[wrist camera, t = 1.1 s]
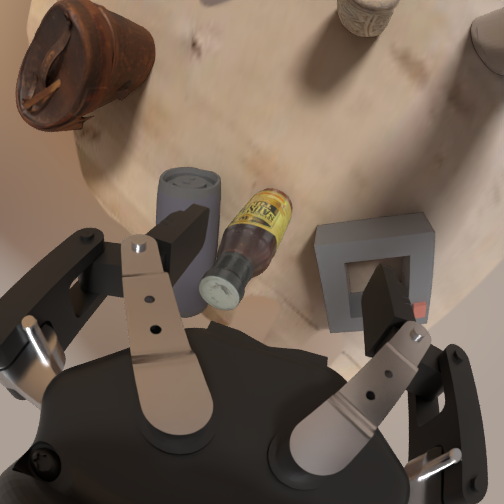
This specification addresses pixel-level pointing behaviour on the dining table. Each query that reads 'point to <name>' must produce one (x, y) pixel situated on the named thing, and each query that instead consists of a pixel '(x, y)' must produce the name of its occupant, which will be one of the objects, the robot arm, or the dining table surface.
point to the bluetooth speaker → (209, 195)
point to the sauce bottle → (246, 248)
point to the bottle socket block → (370, 248)
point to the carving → (366, 15)
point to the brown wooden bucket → (80, 64)
